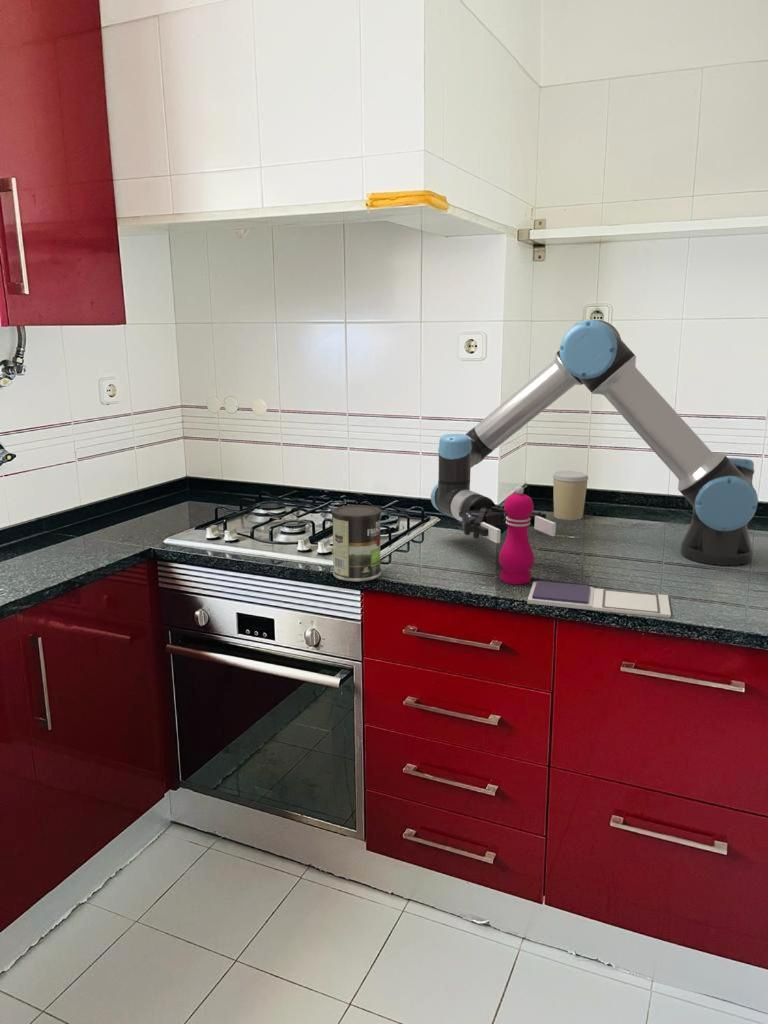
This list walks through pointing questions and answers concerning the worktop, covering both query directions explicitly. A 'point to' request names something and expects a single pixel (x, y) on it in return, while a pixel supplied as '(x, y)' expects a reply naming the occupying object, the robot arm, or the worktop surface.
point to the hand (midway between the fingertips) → (526, 533)
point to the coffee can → (356, 542)
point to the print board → (631, 602)
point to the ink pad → (561, 595)
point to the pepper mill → (517, 539)
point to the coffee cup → (569, 494)
